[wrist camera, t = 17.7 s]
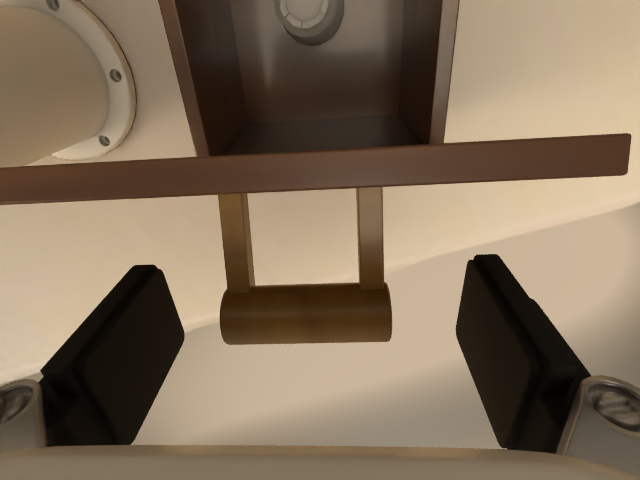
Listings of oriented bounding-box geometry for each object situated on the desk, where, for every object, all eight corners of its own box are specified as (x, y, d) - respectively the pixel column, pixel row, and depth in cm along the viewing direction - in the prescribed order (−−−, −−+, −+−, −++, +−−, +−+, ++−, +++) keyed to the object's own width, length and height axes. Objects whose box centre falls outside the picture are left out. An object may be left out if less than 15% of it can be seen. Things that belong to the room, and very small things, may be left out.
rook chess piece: (336, -41, 23) (336, -75, 16) (350, 35, 25) (356, 36, 18) (271, -19, 23) (245, -41, 17) (291, 54, 26) (275, 60, 19)
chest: (213, -42, 24) (134, -92, 14) (417, -61, 23) (474, -127, 13) (243, 132, 29) (201, 177, 20) (406, 122, 29) (441, 165, 19)
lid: (-31, 169, 8) (21, 402, 9) (633, 132, 7) (604, 396, 8) (197, 173, 20) (208, 268, 21) (443, 160, 19) (442, 261, 20)
